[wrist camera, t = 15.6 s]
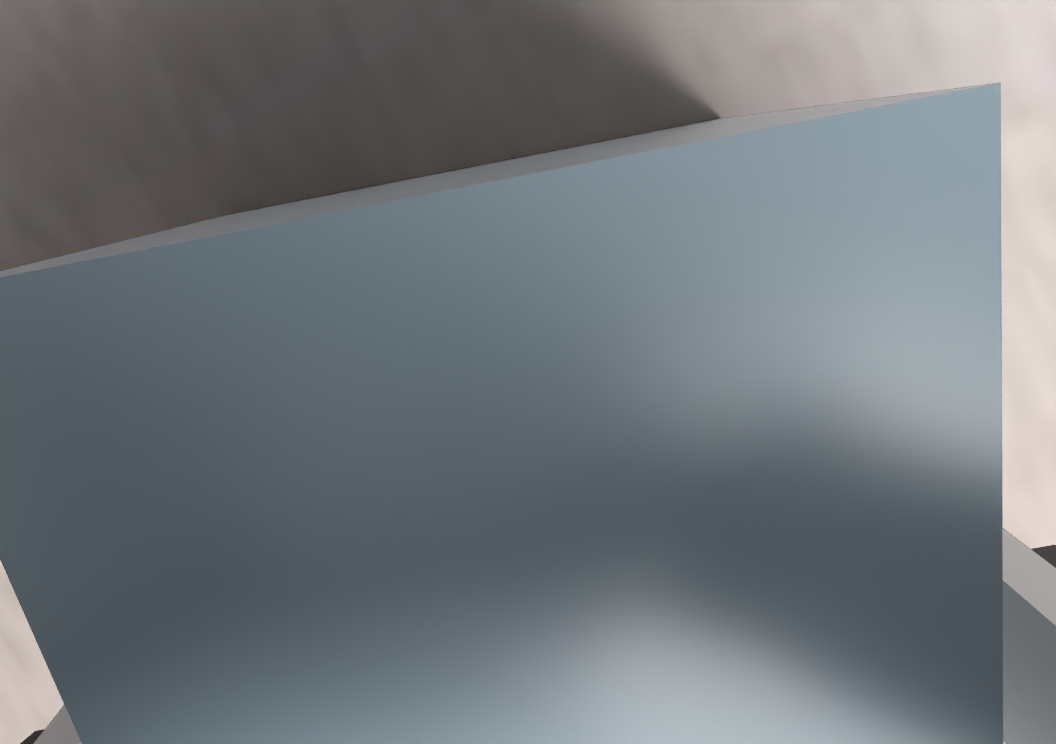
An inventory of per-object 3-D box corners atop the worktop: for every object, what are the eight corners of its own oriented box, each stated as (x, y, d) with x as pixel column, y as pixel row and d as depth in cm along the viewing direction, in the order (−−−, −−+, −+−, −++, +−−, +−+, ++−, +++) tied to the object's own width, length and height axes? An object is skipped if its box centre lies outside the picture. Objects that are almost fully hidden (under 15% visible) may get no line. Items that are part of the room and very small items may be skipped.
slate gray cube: (351, 637, 18) (221, 1059, 10) (225, 215, 15) (-115, 299, 7) (769, 561, 18) (1003, 925, 10) (721, 118, 15) (1000, 81, 7)
